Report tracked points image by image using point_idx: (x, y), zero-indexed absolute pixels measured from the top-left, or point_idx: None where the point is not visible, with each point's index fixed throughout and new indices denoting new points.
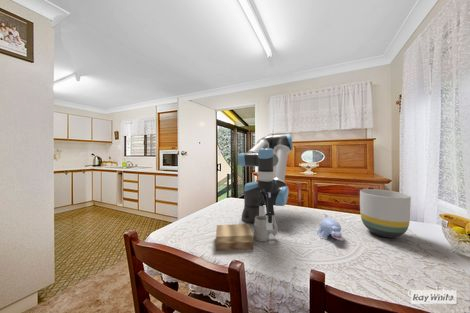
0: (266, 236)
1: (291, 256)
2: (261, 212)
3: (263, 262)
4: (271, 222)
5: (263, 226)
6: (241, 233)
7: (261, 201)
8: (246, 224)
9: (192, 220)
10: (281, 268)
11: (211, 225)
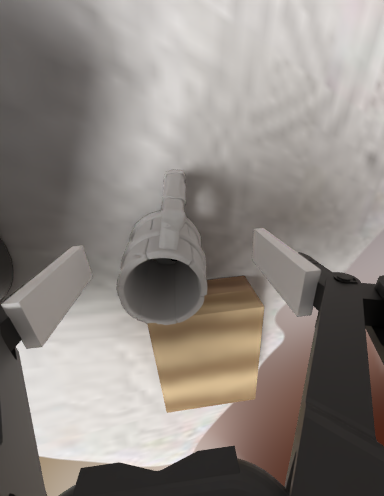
0: (196, 229)
1: (315, 148)
2: (67, 290)
3: (317, 252)
4: (303, 256)
5: (205, 265)
6: (243, 342)
7: (24, 403)
8: (154, 328)
9: (53, 440)
10: (358, 206)
11: (81, 394)
